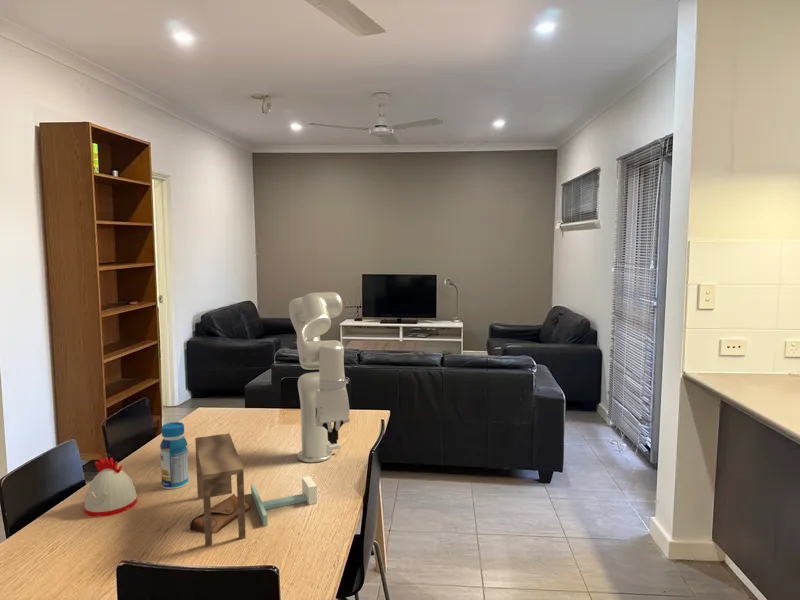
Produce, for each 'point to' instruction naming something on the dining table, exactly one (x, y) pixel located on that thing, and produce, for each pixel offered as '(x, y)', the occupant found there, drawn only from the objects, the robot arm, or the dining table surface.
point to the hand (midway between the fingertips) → (333, 442)
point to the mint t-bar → (286, 498)
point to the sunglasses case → (219, 515)
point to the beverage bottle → (174, 456)
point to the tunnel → (218, 477)
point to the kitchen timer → (109, 491)
